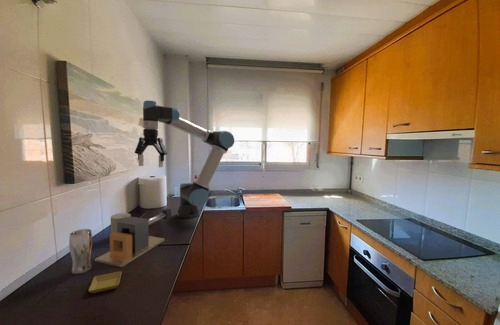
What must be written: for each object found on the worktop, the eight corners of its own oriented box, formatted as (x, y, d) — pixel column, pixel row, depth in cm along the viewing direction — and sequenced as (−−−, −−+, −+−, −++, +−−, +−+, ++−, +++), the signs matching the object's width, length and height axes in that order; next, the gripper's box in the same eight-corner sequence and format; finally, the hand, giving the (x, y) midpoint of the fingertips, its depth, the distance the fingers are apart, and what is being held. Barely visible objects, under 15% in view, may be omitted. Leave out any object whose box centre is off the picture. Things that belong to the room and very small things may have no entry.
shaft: (166, 216, 124) (166, 208, 124) (171, 217, 123) (171, 208, 123) (128, 234, 98) (128, 224, 98) (133, 235, 98) (133, 224, 97)
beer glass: (74, 266, 85) (72, 229, 84) (95, 263, 88) (94, 227, 86) (67, 276, 78) (65, 237, 77) (90, 272, 81) (89, 234, 80)
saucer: (87, 297, 69) (87, 291, 69) (94, 281, 77) (94, 275, 77) (118, 290, 72) (118, 284, 72) (122, 276, 80) (122, 270, 80)
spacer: (116, 251, 96) (115, 231, 95) (132, 254, 93) (131, 234, 93) (109, 254, 93) (109, 234, 92) (126, 257, 90) (126, 237, 90)
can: (121, 241, 107) (121, 218, 107) (106, 239, 109) (105, 216, 108) (134, 234, 116) (134, 212, 116) (120, 232, 118) (120, 211, 117)
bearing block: (142, 236, 114) (142, 210, 113) (164, 240, 110) (164, 214, 109) (94, 261, 89) (94, 228, 88) (121, 267, 85) (121, 233, 84)
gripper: (127, 128, 120) (127, 165, 121) (165, 128, 113) (165, 168, 115) (137, 129, 127) (138, 164, 129) (173, 129, 120) (173, 167, 122)
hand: (150, 166), depth 122 cm, fingers open, 13 cm apart
